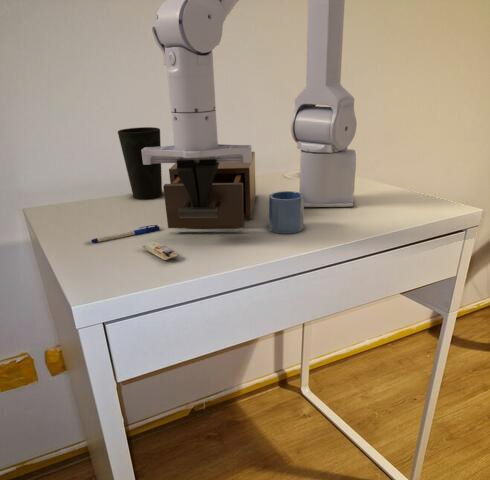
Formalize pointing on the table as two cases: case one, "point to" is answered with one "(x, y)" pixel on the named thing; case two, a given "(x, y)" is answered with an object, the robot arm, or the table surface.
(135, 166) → the cup
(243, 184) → the drawer
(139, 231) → the ballpoint pen
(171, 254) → the granola bar
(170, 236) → the table surface
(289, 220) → the small cup
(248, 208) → the cabinet
